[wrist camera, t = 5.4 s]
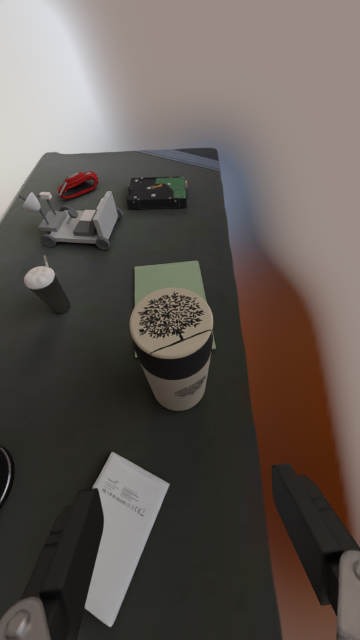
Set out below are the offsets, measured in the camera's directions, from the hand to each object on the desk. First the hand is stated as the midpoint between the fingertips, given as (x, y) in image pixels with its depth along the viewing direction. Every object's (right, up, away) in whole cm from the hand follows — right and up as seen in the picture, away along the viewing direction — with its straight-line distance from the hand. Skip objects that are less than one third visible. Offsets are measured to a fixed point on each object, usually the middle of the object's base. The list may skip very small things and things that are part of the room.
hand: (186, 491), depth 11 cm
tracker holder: (-29, +43, +56) cm, 76 cm away
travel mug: (-1, -2, +26) cm, 26 cm away
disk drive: (-6, +40, +53) cm, 66 cm away
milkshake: (-22, +10, +35) cm, 43 cm away
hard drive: (-8, -16, +17) cm, 25 cm away
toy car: (-24, +28, +46) cm, 59 cm away
